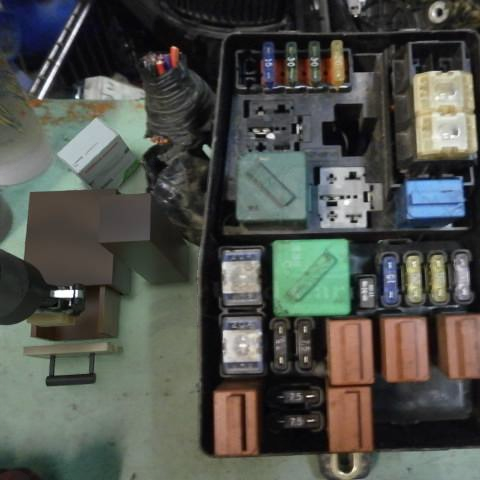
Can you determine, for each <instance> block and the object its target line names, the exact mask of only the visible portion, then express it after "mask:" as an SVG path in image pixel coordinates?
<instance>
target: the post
mask: <svg viewBox="0 0 480 480" xmlns="http://www.w3.org/2000/svg"><path fill="white" fill-rule="evenodd" d="M98 243H99V244H100V245H102V246H103V247H104V248H105V249H107V250H108V251H109V252H111V253H112V254H113V255H114V256H116V257H117V258H118V259H120V260H121V261H122V262H123V263H125V264H126V265H127V266H129V267H130V268H131V269H132V271H133V272H134V273H136V274H137V275H139V276H140V277H141V278H142V279H143V280H145V281H146V282H148V283H149V284H150V285H164V284H183V283H185V284H186V283H190V245H189V244H188V243H187V241H186V240H185V239H184V237H183V236H182V234H181V233H180V231H179V229H177V227H176V226H175V224H174V223H173V222H172V220H171V219H170V218H169V216H168V215H167V213H166V212H165V210H164V209H163V208H162V206H161V204H159V202H158V200H157V199H156V198H155V196H154V195H153V193H152V192H146V193H145V192H144V193H123V194H122V193H121V194H119V195H101V201H100V220H99V238H98Z"/></svg>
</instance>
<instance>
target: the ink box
mask: <svg viewBox="0 0 480 480" xmlns="http://www.w3.org/2000/svg"><path fill="white" fill-rule="evenodd" d="M56 156H57V158H58V159H59V160H60V161H61V162H63V163H64V164H65V166H66V167H68V169H69V170H71V171H72V172H73V173H74V174H75V176H77V178H79V179H80V180H81V182H83V183H84V184H85V185H86V186H87V187H88V189H112V188H116V189H117V188H119V187H120V185H122V184H123V183H124V182H125V181H126V180H127V179H128V177H129V176H131V175H132V174H133V173H134V172H135V171H136V169H138V168H139V167H140V166H141V163H140V161H139V160H138V159H137V157H136V155H134V153H133V151H132V150H131V149H130V147H129V146H128V144H127V143H126V142H125V141H124V139H123V138H122V136H121V135H120V133H119V132H117V130H115V129H114V128H113V127H111V126H110V125H109V124H107V123H106V122H105V121H104V120H102V119H101V118H100V117H98V116H96V117H95V118H94V119H93V120H92V121H90V123H89V124H87V125H86V126H85V127H84V128H83V129H82V130H81V131H80V132H79V133H78V134H76V135H75V136H74V137H73V138H72V140H70V141H69V142H68V143H67V144H66V145H65V146H63V148H61V150H59V151H58V152H57V153H56Z"/></svg>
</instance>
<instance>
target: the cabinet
mask: <svg viewBox="0 0 480 480" xmlns="http://www.w3.org/2000/svg"><path fill="white" fill-rule="evenodd" d="M119 194H122V193H121V192H120V191H119V190H118V189H117V188H112V189H90V188H88V189H70V190H69V189H68V190H67V189H65V190H44V191H43V190H42V191H30V192H29V196H28V207H27V219H26V229H25V230H26V231H25V239H24V240H25V241H24V251H23V260H25V261H27V262H29V263H31V264H32V265H34V266H35V267H36V268H37V269H38V270H39V271H40V273H41V274H42V276H43V278H44V280H45V281H46V282H47V283H48V284H52V285H56V286H60V287H65V288H68V287H69V286H73V284H76V283H80V284H83V285H84V287H87V286H106V285H109V286H110V287H112V288H114V289H115V290H117V291H119V292H120V297H129V296H130V297H131V296H132V273H133V272H132V271H133V270H132V269H131V268H130V267H129V266H127V265H126V264H125V263H123V262H122V261H121V260H120V259H118V258H117V257H116V256H114V255H113V254H112V253H111V252H109V251H108V250H107V249H105V248H104V247H103V246H102V245H100V244H99V243H98V238H99V220H100V201H101V195H119Z"/></svg>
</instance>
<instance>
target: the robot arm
mask: <svg viewBox="0 0 480 480" xmlns="http://www.w3.org/2000/svg"><path fill="white" fill-rule="evenodd" d="M62 300H63V306H62ZM85 300H86V290H85V287H84V285H83V284H80V283H76V284H73V286H69V290H63V288H62V287H60V286H56V285H52V284H48V283H47V282H46V281H45V280H44V278H43V276H42V274H41V273H40V271H39V270H38V269H37V268H36V267H35V266H34V265H32V264H31V263H29V262H27V261H25V260H24V258H21V257H19V256H16V255H15V254H13V253H10V252H8V251H7V250H4V249H2V248H0V326H13V325H17V324H20V323H22V322H25V321H27V319H28V318H29V317H30V316H31V315H33V314H39V313H44V314H50V315H53V314H60V313H66V314H68V315H71V316H80V313H82V312H84V311H85ZM49 307H50V308H49Z"/></svg>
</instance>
